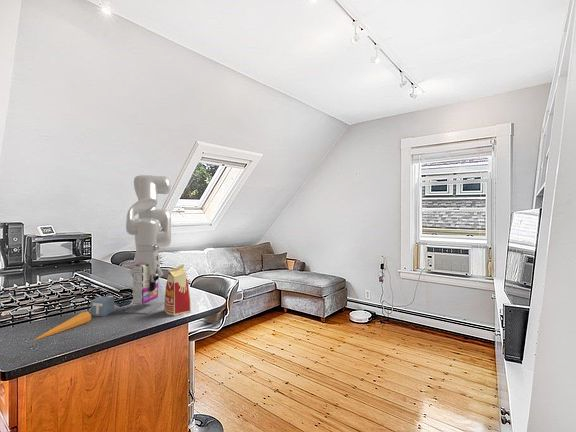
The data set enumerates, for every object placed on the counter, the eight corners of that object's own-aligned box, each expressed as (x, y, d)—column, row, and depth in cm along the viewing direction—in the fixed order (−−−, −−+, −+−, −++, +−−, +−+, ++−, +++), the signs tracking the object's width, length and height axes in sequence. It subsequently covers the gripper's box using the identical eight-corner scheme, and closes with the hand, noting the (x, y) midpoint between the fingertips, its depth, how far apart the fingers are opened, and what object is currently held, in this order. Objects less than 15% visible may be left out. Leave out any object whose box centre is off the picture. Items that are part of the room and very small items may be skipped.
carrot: (87, 322, 123) (83, 311, 123) (95, 320, 121) (90, 308, 121) (30, 348, 104) (25, 335, 104) (38, 346, 103) (33, 333, 103)
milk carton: (181, 306, 143) (183, 262, 142) (191, 312, 136) (193, 265, 136) (161, 310, 136) (162, 264, 136) (171, 316, 130) (172, 267, 129)
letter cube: (100, 310, 134) (100, 296, 134) (114, 311, 134) (114, 297, 134) (90, 315, 128) (90, 300, 128) (104, 316, 128) (104, 301, 127)
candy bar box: (148, 296, 145) (149, 260, 145) (158, 297, 144) (159, 261, 144) (131, 303, 135) (132, 264, 134) (142, 304, 134) (143, 265, 133)
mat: (143, 301, 148) (143, 300, 148) (164, 303, 147) (164, 302, 147) (124, 312, 133) (124, 311, 133) (147, 314, 132) (147, 313, 132)
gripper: (169, 248, 142) (168, 289, 142) (132, 246, 143) (132, 286, 144) (161, 250, 134) (160, 293, 135) (122, 248, 136) (121, 291, 136)
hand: (145, 289), depth 139 cm, fingers closed on candy bar box, 5 cm apart
